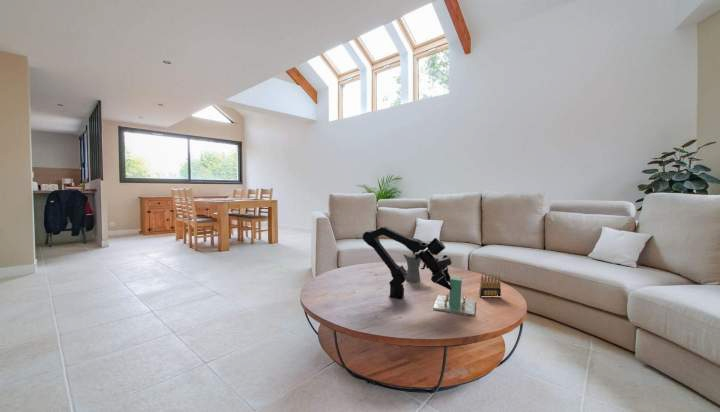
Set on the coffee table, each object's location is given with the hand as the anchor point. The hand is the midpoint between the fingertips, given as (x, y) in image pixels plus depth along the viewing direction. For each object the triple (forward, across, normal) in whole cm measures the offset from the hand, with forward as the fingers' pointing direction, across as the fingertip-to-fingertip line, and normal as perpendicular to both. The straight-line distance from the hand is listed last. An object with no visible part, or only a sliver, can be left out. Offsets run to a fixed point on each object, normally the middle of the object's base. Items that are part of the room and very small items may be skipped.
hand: (451, 286), depth 145 cm
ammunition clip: (+19, +20, -6) cm, 28 cm away
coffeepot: (-10, +31, +24) cm, 41 cm away
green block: (+7, 0, +5) cm, 9 cm away
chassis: (+8, 0, +5) cm, 10 cm away
